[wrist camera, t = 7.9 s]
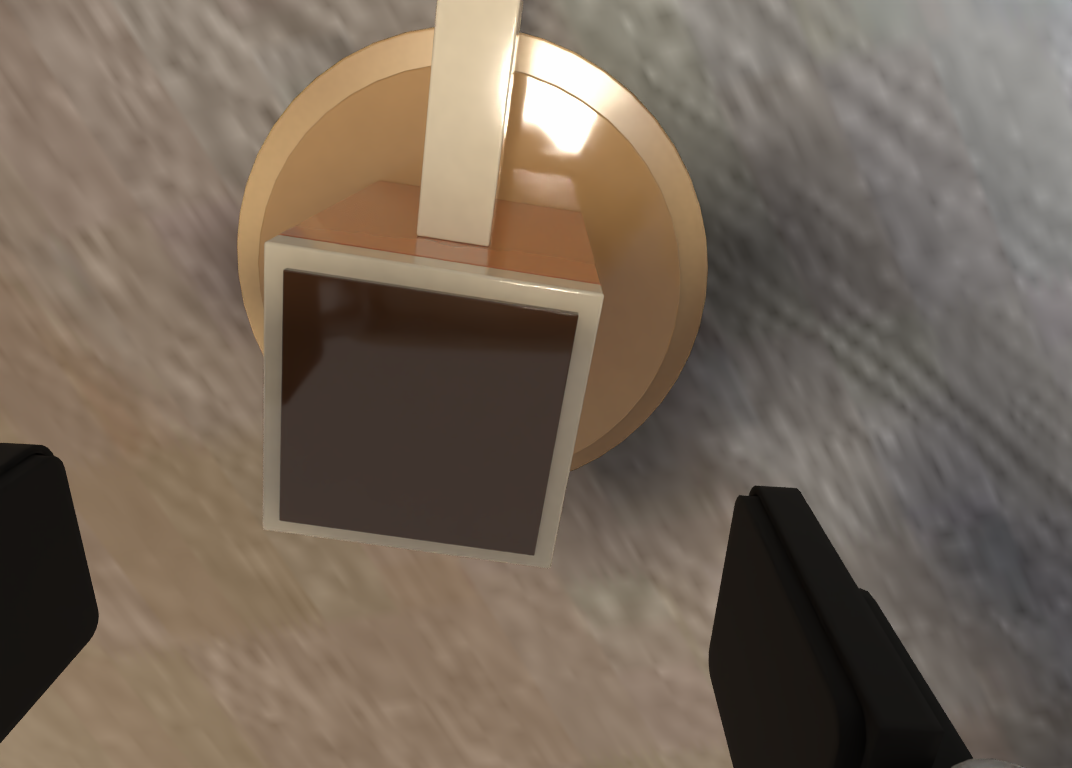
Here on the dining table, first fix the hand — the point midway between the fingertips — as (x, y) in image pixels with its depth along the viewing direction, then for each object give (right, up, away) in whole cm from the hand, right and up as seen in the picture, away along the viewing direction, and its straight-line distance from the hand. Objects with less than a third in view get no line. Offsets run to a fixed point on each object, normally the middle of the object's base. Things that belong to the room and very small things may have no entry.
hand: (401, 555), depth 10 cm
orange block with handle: (0, +7, +12) cm, 14 cm away
